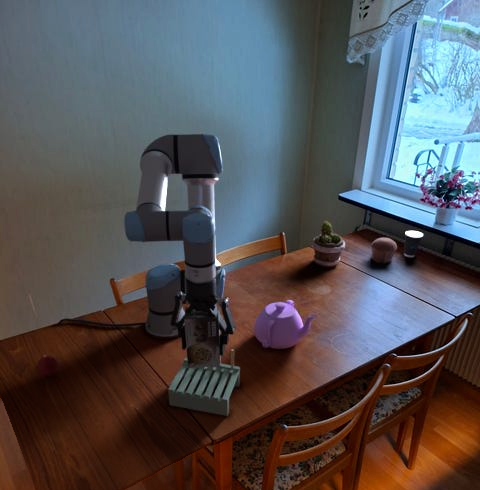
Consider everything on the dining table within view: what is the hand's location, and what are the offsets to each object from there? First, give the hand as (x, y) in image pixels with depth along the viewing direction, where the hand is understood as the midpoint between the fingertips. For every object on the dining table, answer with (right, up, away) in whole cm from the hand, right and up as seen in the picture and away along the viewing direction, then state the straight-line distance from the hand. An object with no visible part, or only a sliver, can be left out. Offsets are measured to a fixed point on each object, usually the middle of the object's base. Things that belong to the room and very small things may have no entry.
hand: (203, 349), depth 122 cm
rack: (0, -14, +9) cm, 16 cm away
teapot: (+25, +1, +32) cm, 41 cm away
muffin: (+77, +37, +88) cm, 123 cm away
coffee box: (0, -3, +2) cm, 4 cm away
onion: (-49, -9, +15) cm, 52 cm away
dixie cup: (+91, +39, +92) cm, 136 cm away
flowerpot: (+50, +34, +84) cm, 104 cm away
